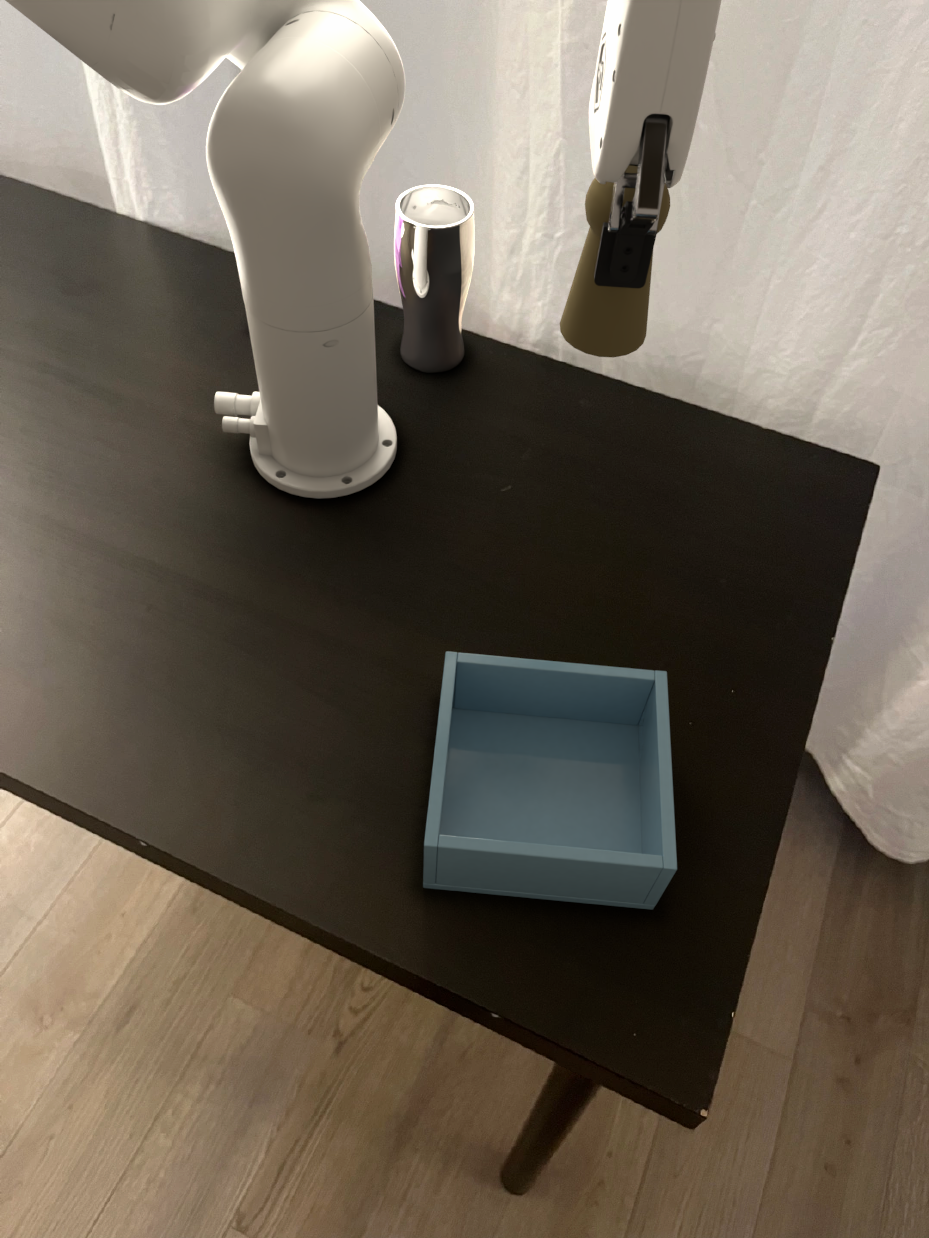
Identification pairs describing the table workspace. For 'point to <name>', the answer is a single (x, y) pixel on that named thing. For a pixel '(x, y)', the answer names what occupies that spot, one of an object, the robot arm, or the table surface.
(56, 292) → the table surface
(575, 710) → the blue open box
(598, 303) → the tan pawn
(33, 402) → the table surface
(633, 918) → the table surface
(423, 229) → the beer glass
